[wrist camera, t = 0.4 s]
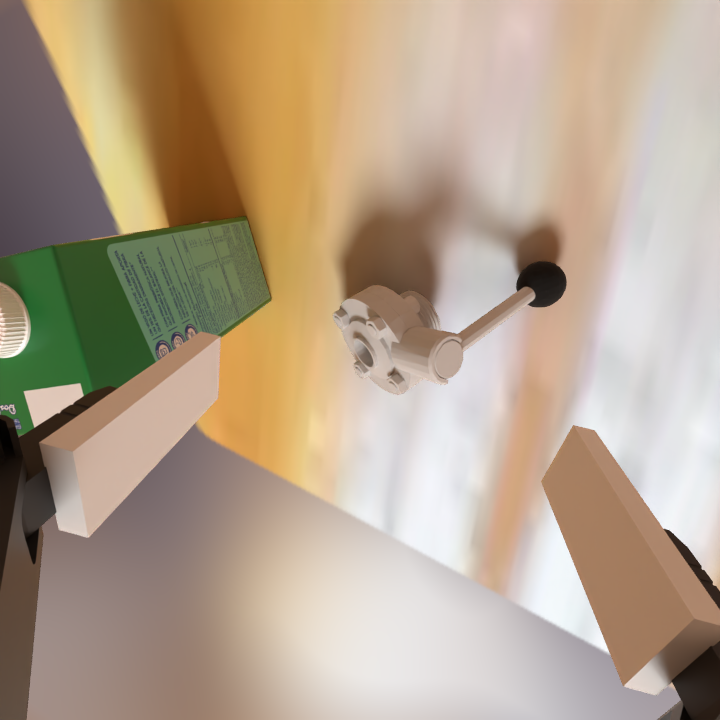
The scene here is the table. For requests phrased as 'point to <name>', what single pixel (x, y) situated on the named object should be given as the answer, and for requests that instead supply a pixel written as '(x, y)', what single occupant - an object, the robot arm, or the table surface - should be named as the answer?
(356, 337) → the valve
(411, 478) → the table surface
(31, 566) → the robot arm
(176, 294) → the milk carton
